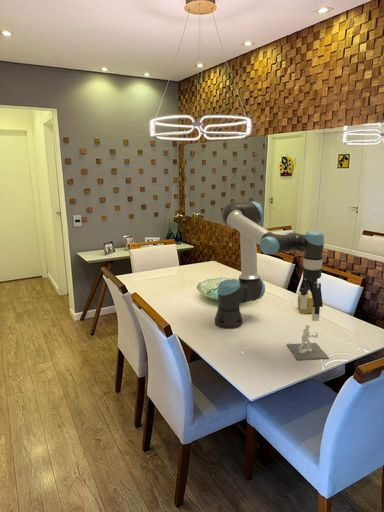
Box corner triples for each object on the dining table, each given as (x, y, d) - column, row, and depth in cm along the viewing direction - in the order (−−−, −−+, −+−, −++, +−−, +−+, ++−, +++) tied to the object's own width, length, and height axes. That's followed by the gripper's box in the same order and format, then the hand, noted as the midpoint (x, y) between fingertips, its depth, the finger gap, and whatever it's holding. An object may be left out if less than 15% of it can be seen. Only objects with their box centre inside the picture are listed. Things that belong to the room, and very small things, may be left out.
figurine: (295, 350, 159) (296, 326, 157) (309, 345, 164) (310, 321, 161) (303, 355, 155) (305, 329, 153) (317, 349, 160) (319, 325, 157)
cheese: (318, 315, 201) (319, 298, 199) (298, 313, 204) (299, 297, 201) (315, 308, 211) (316, 292, 209) (297, 307, 213) (298, 291, 211)
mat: (297, 360, 152) (297, 359, 152) (286, 345, 166) (286, 344, 166) (328, 358, 153) (329, 357, 153) (315, 344, 167) (315, 342, 167)
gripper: (334, 275, 139) (329, 325, 144) (309, 260, 163) (306, 303, 168) (315, 276, 139) (311, 326, 143) (293, 261, 163) (291, 304, 168)
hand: (309, 314), depth 156 cm, fingers open, 13 cm apart
